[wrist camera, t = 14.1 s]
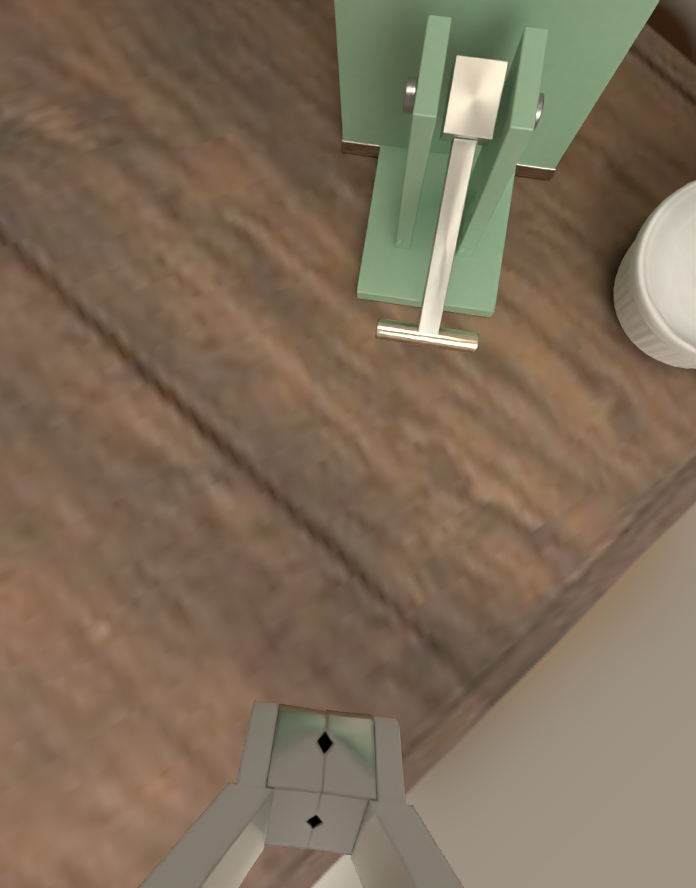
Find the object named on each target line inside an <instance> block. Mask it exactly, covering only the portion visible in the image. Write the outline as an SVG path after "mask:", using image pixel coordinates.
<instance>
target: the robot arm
mask: <svg viewBox="0 0 696 888" xmlns="http://www.w3.org/2000/svg"><path fill="white" fill-rule="evenodd" d="M278 706H279V709H278ZM277 714H278V715H277ZM276 720H277V721H276ZM264 845H267V846H279V847H291V848H303V849H312V850H319V851H326V852H333V853H339V854H346V855H352V856H351V859H352V862H353V864H354V866H355V869H356V871H357V874H358V876H359V879H360V881H361V884H362V886H363V888H464V887H463V885H462V884H461V882H460V880H459V879H458V877H457V876H456V874H455V872H454V871H453V869H452V867H451V866H450V864H449V863H448V861H447V859H446V858H445V856H444V855H443V853H442V851H441V850H440V848H439V847H438V845H437V843H436V842H435V840H434V838H433V837H432V835H431V834H430V832H429V830H428V829H427V827H426V825H425V824H424V822H423V821H422V819H421V817H420V816H419V814H418V813H417V811H416V809H415V808H414V806H412V805H407V804H406V801H405V789H404V777H403V766H402V754H401V742H400V730H399V724H398V721H397V719H394V718H385V717H375V716H372V715H366V714H358V713H349V712H340V711H331V710H326V711H324V710H317V709H311V708H304V707H297V706H291V705H284V704H279V703H271V702H264V701H256V700H255V702H254V705H253V707H252V711H251V716H250V721H249V726H248V731H247V735H246V740H245V745H244V750H243V754H242V759H241V764H240V769H239V774H238V778H237V783H236V784H233V783H229V784H228V785H227V786H226V787H225V788H224V789H223V790H222V792H221V793H220V794H219V795H218V796H217V797H216V799H215V800H214V801H213V802H212V803H211V804H210V805H209V807H208V808H207V809H206V810H205V811H204V812H203V813H202V815H201V816H200V817H199V818H198V819H197V820H196V822H195V823H194V824H193V825H192V826H191V827H190V828H189V830H188V831H187V832H186V833H185V834H184V835H183V837H182V838H181V839H180V840H179V841H178V842H177V843H176V845H175V846H174V847H173V848H172V849H171V850H170V851H169V853H168V854H167V855H166V856H165V857H164V858H163V860H162V861H161V862H160V863H159V864H158V865H157V866H156V868H155V869H154V870H153V871H152V872H151V873H150V874H149V876H148V877H147V878H146V879H145V880H144V881H143V883H142V884H141V885H140V886H139V887H138V888H238V887H239V886H240V884H241V883H242V881H243V880H244V878H245V877H246V875H247V873H248V872H249V870H250V869H251V867H252V866H253V864H254V863H255V861H256V860H257V858H258V857H259V855H260V854H261V852H262V851H263V849H264Z"/></svg>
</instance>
